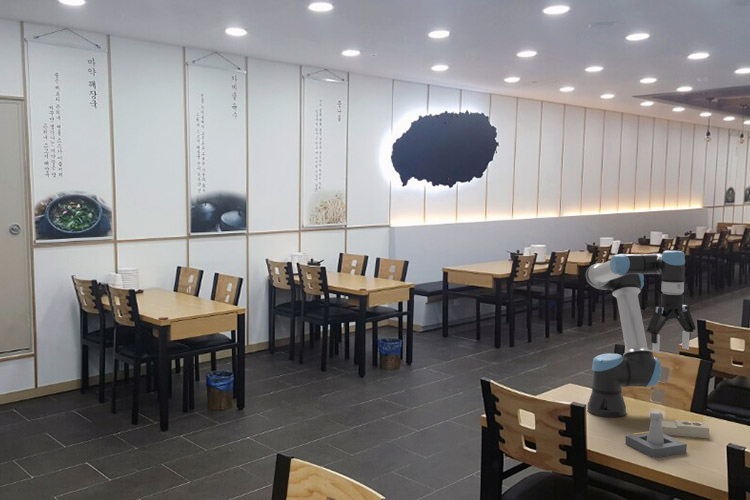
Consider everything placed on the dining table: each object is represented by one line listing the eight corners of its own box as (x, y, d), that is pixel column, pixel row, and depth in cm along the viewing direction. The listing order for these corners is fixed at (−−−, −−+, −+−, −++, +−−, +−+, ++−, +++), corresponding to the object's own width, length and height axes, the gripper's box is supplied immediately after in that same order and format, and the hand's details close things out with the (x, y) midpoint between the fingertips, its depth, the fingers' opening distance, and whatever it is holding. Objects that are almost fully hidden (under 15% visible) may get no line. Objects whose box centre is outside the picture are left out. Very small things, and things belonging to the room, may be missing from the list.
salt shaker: (643, 445, 236) (644, 409, 235) (658, 444, 237) (659, 409, 236) (651, 451, 230) (652, 414, 229) (667, 450, 231) (668, 414, 230)
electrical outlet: (654, 417, 254) (705, 422, 249) (653, 428, 255) (705, 432, 250) (656, 423, 247) (709, 428, 242) (656, 434, 248) (709, 439, 243)
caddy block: (625, 443, 238) (625, 434, 238) (656, 438, 242) (657, 430, 242) (653, 457, 225) (653, 448, 224) (686, 452, 229) (686, 443, 229)
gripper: (652, 296, 235) (650, 355, 236) (707, 292, 243) (705, 349, 244) (637, 293, 242) (635, 350, 243) (691, 290, 250) (689, 345, 252)
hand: (670, 350), depth 244 cm, fingers open, 13 cm apart
